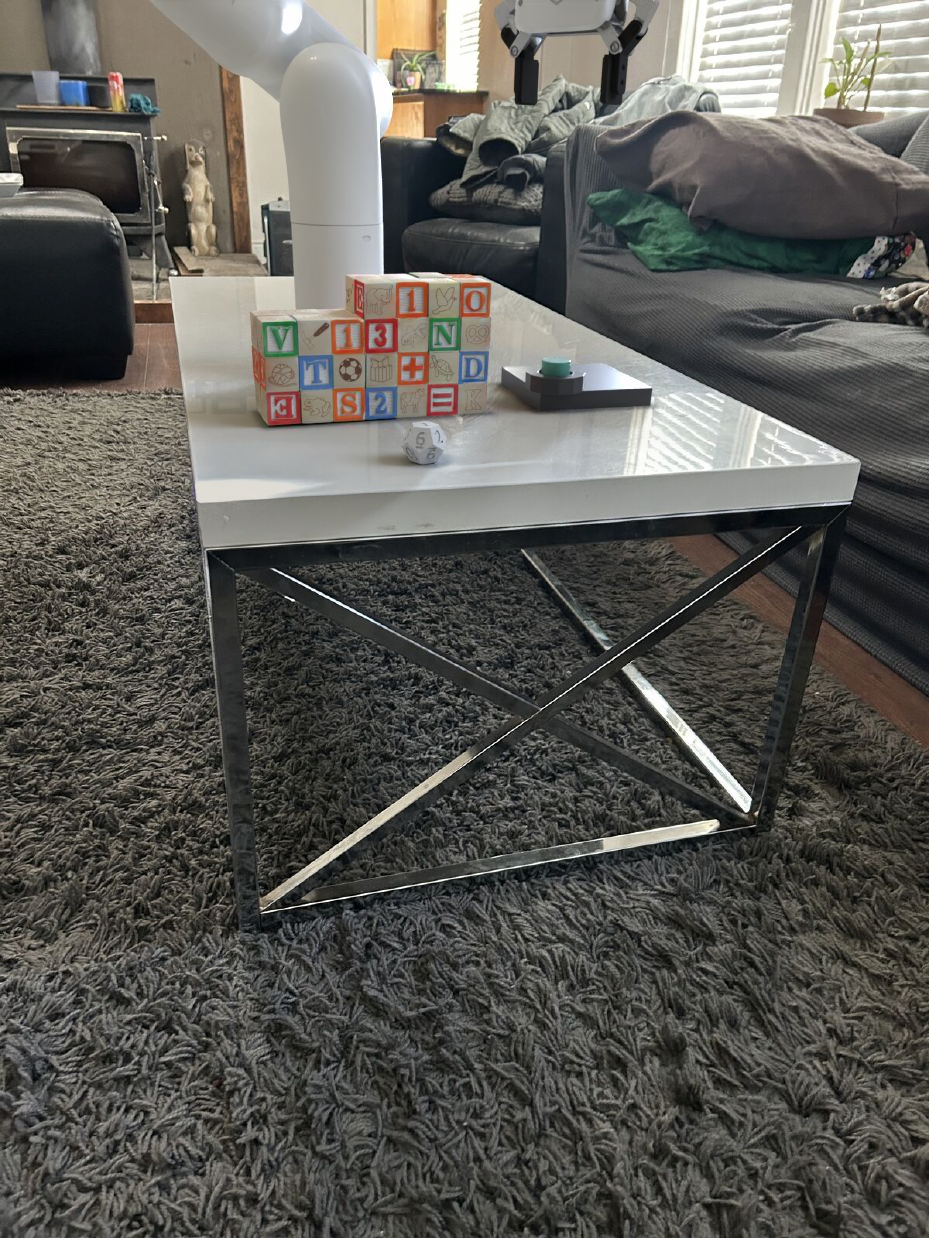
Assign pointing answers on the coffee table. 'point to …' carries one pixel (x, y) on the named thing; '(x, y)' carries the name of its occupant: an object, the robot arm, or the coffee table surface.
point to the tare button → (555, 366)
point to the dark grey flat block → (576, 388)
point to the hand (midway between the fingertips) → (567, 104)
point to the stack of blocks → (376, 351)
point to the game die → (424, 442)
